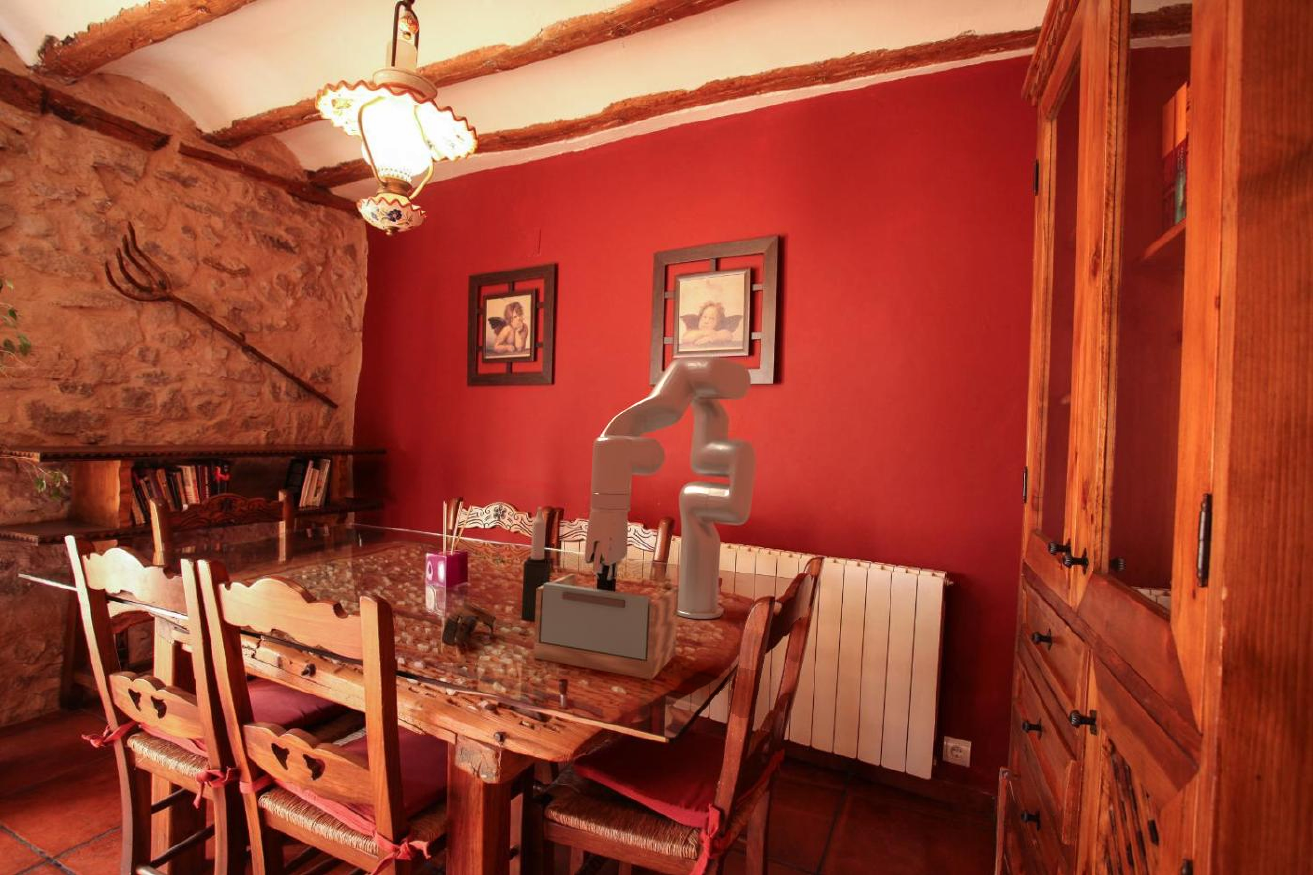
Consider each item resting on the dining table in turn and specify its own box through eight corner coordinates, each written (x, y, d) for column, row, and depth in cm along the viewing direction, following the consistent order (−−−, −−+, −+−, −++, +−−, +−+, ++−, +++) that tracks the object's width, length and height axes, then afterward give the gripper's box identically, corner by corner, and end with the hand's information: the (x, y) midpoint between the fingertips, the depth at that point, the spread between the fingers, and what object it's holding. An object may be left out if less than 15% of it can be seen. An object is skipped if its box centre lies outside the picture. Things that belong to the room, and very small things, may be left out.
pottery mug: (439, 635, 128) (461, 597, 131) (481, 655, 129) (501, 618, 132) (434, 639, 117) (457, 598, 120) (479, 661, 118) (501, 620, 121)
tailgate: (544, 639, 118) (547, 582, 117) (648, 656, 111) (650, 596, 111) (539, 642, 116) (541, 584, 115) (643, 660, 109) (646, 599, 109)
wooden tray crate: (567, 636, 130) (570, 573, 130) (675, 654, 122) (678, 587, 122) (533, 658, 117) (536, 588, 117) (651, 679, 109) (655, 605, 109)
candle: (541, 621, 138) (546, 509, 138) (519, 619, 139) (524, 507, 139) (549, 615, 143) (554, 506, 143) (528, 613, 144) (533, 504, 144)
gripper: (607, 497, 126) (603, 588, 126) (574, 504, 112) (569, 606, 112) (642, 500, 124) (638, 593, 124) (613, 507, 110) (608, 612, 110)
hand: (605, 599), depth 118 cm, fingers closed
